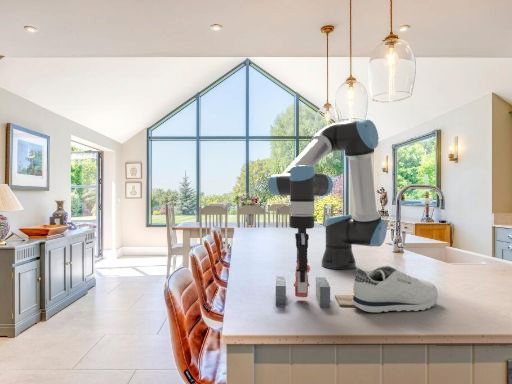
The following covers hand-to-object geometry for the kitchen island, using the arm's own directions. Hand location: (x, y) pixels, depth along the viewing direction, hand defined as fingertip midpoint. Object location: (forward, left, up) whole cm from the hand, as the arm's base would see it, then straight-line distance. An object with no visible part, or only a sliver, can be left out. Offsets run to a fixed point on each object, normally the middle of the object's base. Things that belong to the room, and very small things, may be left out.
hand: (301, 289), depth 114 cm
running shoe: (+4, +28, -3) cm, 28 cm away
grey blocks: (0, 0, -3) cm, 3 cm away
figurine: (0, 0, -2) cm, 2 cm away
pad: (0, +16, -3) cm, 16 cm away
